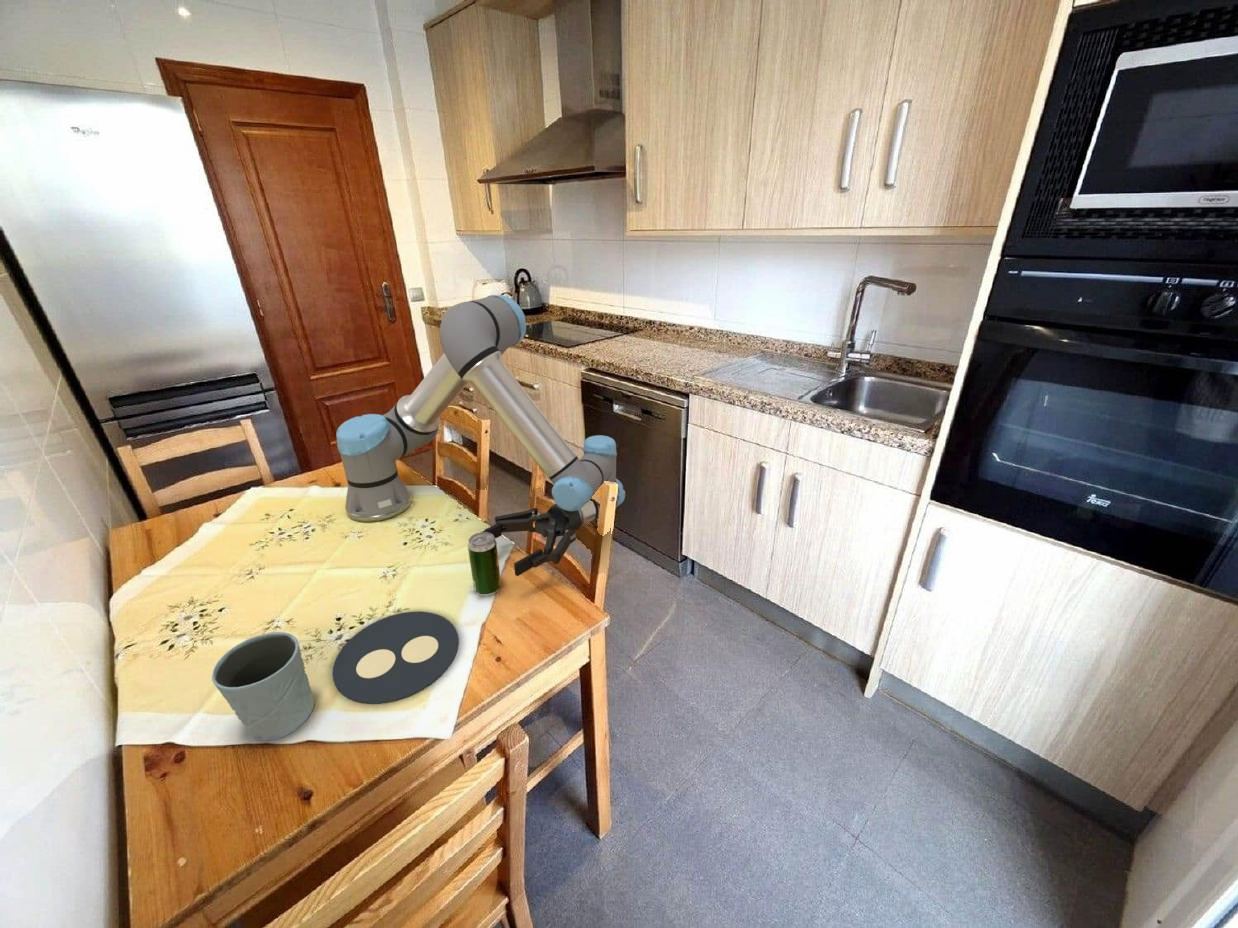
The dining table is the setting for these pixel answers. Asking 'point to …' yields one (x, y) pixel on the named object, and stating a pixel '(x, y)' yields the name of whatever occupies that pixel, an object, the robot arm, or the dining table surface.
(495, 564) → the beer can
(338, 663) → the spotted mat
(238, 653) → the gray plant pot
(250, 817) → the dining table surface
